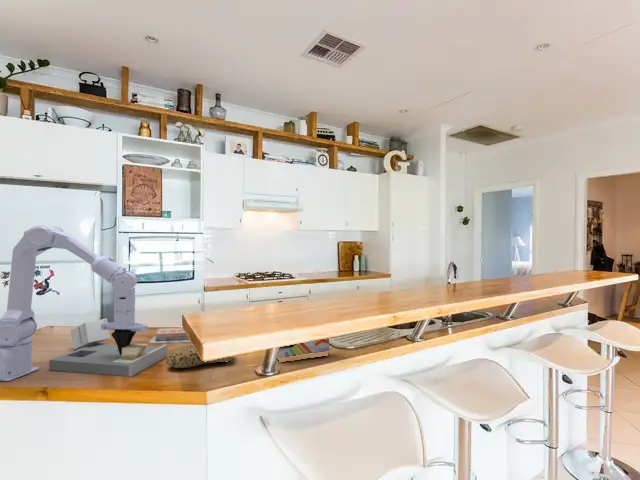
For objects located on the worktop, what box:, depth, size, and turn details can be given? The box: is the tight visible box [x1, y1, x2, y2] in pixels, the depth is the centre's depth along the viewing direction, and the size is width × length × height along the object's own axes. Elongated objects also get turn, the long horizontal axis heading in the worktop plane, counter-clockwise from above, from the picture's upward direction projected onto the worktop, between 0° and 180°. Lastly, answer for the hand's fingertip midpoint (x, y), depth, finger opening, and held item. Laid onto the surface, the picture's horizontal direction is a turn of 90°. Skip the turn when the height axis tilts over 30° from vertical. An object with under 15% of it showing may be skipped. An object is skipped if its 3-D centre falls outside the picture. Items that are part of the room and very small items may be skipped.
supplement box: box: [70, 318, 111, 351], centre depth 123 cm, size 7×7×13 cm
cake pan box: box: [278, 337, 330, 358], centre depth 119 cm, size 19×5×18 cm, turn 112°
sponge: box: [165, 344, 233, 369], centre depth 112 cm, size 13×8×20 cm
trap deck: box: [48, 342, 168, 377], centre depth 111 cm, size 18×27×4 cm, turn 83°
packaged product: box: [148, 327, 192, 345], centre depth 138 cm, size 18×5×10 cm
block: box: [122, 342, 148, 360], centre depth 108 cm, size 5×5×4 cm
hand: (123, 353), depth 109 cm, fingers closed
